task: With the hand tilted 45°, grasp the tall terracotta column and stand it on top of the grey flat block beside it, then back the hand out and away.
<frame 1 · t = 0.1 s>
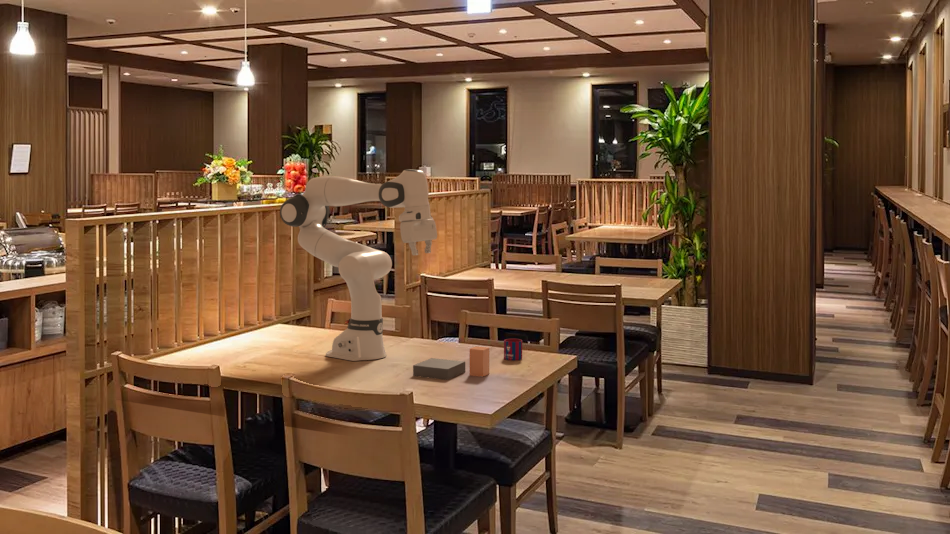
hand: (421, 254, 306), 39 cm above the table, tool pointing down, fingers open, 8 cm apart
grey flat block: (439, 375, 292), on the table
mug: (515, 358, 318), on the table
terracotta column: (479, 374, 292), on the table
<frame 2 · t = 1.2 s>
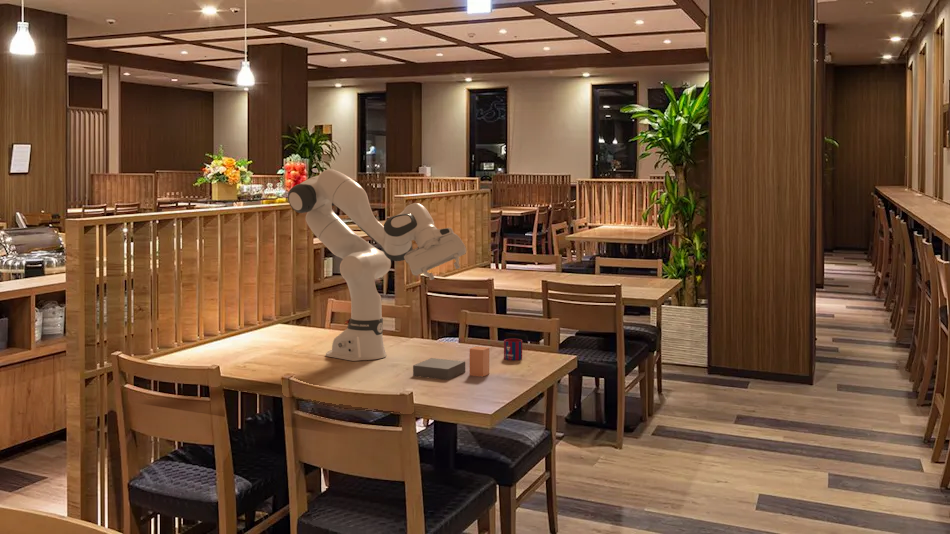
hand: (445, 273, 291), 34 cm above the table, tool tilted 45°, fingers open, 8 cm apart
nothing on the table moved.
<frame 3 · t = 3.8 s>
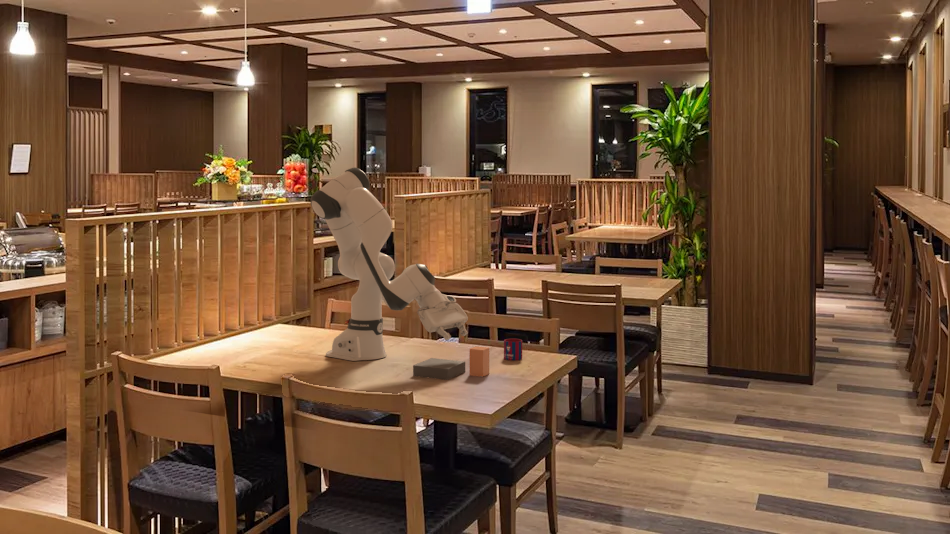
hand: (457, 336, 294), 12 cm above the table, tool tilted 45°, fingers open, 8 cm apart
nothing on the table moved.
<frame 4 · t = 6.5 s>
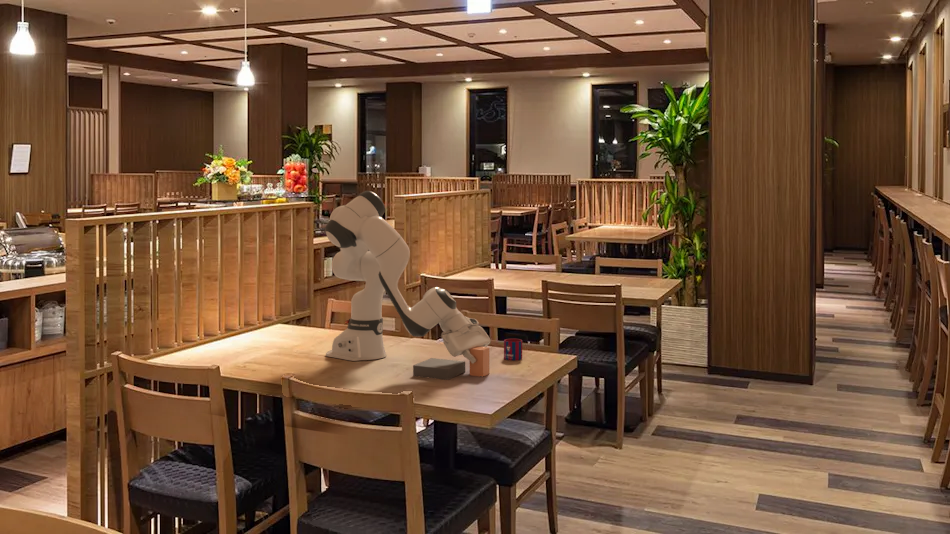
hand: (481, 360, 291), 5 cm above the table, tool tilted 45°, fingers closed on terracotta column, 5 cm apart
terracotta column: (479, 374, 292), on the table, touching gripper
everything else where it was.
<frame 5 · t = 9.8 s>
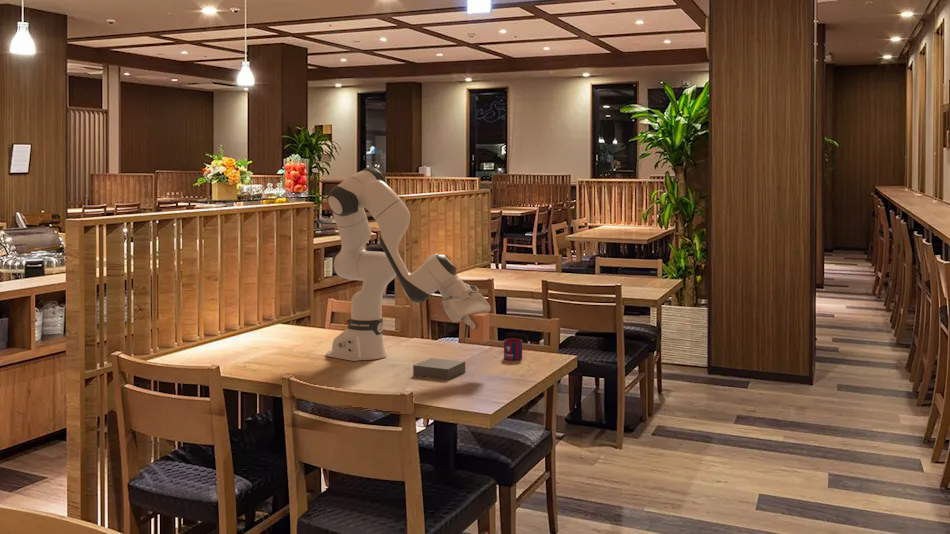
hand: (481, 326, 290), 16 cm above the table, tool tilted 45°, fingers closed on terracotta column, 5 cm apart
terracotta column: (479, 340, 290), point 11 cm above the table, touching gripper
everything else where it was.
when the fingers open (10 cm above the table, at t = 13.2 s): terracotta column drops 2 cm, resting on grey flat block.
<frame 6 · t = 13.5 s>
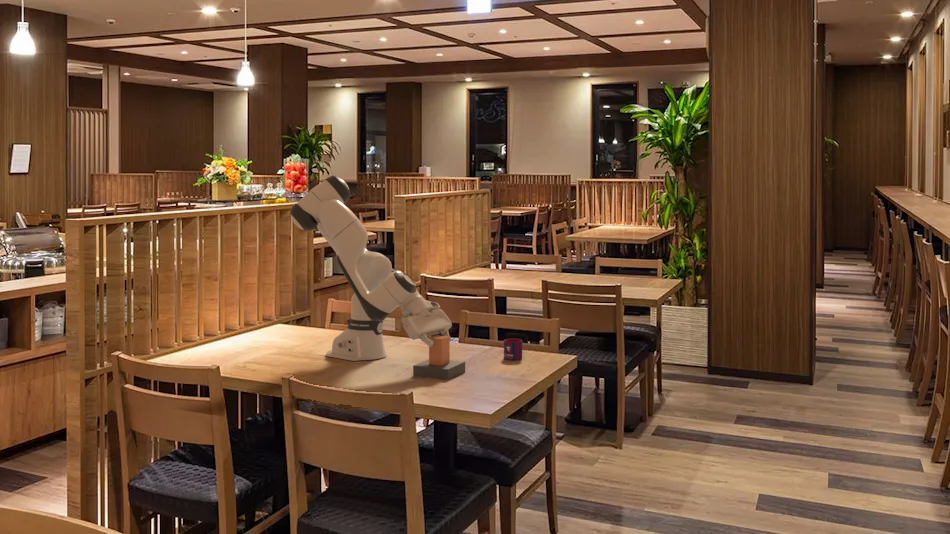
hand: (440, 343, 291), 10 cm above the table, tool tilted 45°, fingers open, 8 cm apart
grey flat block: (439, 375, 292), on the table, touching terracotta column
terracotta column: (439, 363, 292), point 3 cm above the table, touching grey flat block
everything else where it was.
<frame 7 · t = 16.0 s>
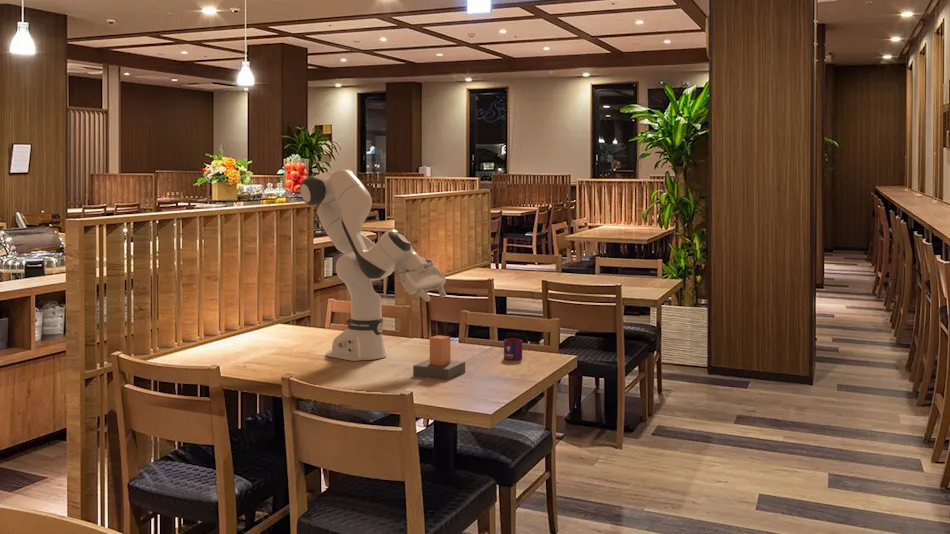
hand: (436, 298, 303), 24 cm above the table, tool tilted 45°, fingers open, 8 cm apart
grey flat block: (439, 375, 292), on the table
terracotta column: (440, 363, 292), point 3 cm above the table
everything else where it was.
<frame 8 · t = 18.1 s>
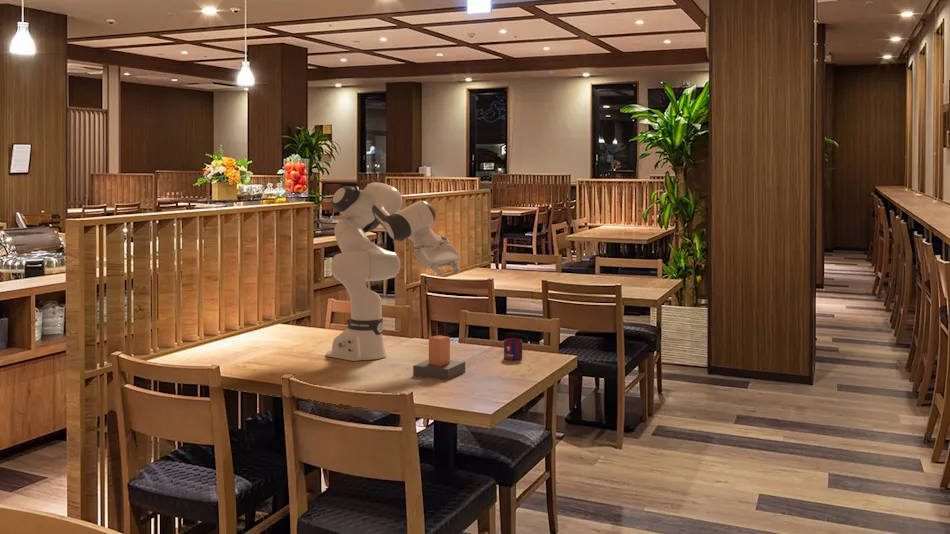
hand: (450, 273, 311), 31 cm above the table, tool tilted 45°, fingers open, 8 cm apart
grey flat block: (439, 375, 292), on the table, touching terracotta column
terracotta column: (439, 363, 292), point 3 cm above the table, touching grey flat block
everything else where it was.
at the end: terracotta column inside the target area on the grey flat block (0.1 cm from its centre), point 4.0 cm above the grey flat block's base; terracotta column tilted 0°; the gripper is holding nothing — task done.
